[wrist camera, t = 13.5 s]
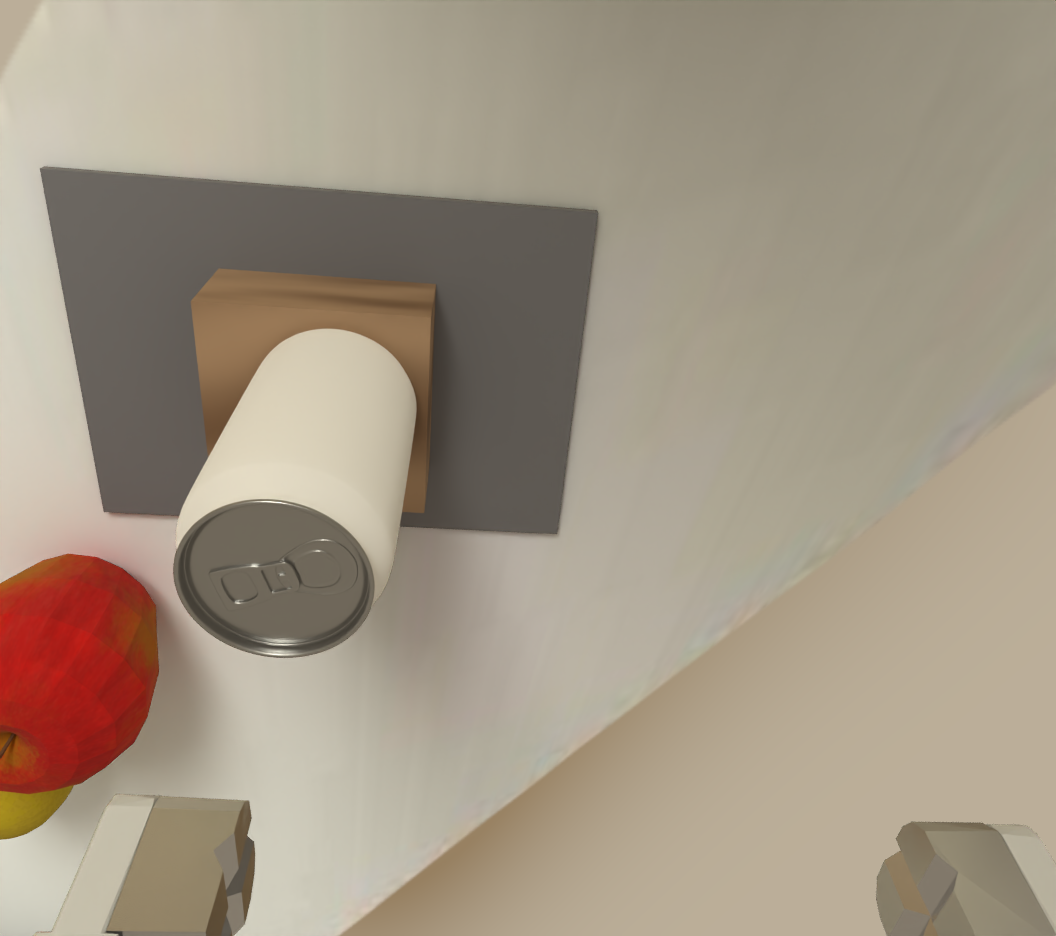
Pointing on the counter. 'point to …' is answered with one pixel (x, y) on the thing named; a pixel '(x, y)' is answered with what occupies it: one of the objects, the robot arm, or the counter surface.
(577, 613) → the counter surface
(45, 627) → the apple
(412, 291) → the plinth
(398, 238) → the mat
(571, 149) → the counter surface
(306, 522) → the can
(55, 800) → the lemon
